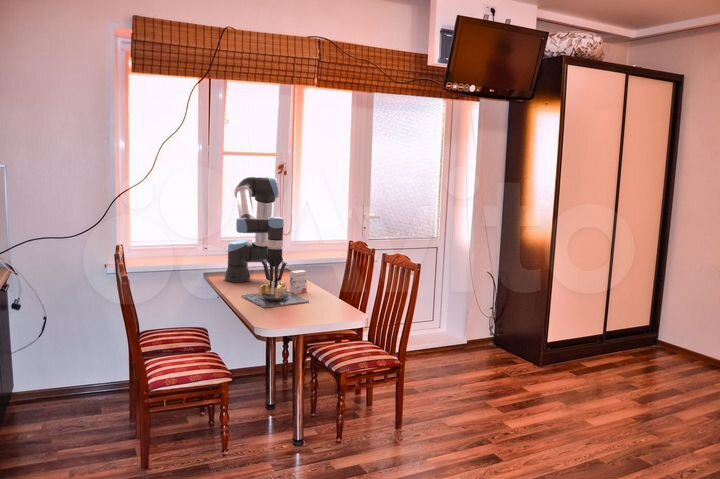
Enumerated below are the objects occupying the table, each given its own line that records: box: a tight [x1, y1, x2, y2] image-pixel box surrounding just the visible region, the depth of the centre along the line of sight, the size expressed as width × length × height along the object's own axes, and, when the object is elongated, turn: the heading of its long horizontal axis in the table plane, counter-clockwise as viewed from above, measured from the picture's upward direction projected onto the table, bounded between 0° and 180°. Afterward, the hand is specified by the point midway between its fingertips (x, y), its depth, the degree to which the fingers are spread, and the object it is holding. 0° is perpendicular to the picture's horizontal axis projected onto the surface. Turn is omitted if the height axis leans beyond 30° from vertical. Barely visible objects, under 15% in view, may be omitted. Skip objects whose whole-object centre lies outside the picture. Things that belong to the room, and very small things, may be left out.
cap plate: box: [240, 281, 310, 309], centre depth 306 cm, size 26×26×9 cm
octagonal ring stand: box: [258, 281, 288, 298], centre depth 302 cm, size 18×11×5 cm, turn 173°
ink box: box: [289, 270, 308, 295], centre depth 324 cm, size 9×5×12 cm, turn 134°
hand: (273, 293), depth 296 cm, fingers closed
